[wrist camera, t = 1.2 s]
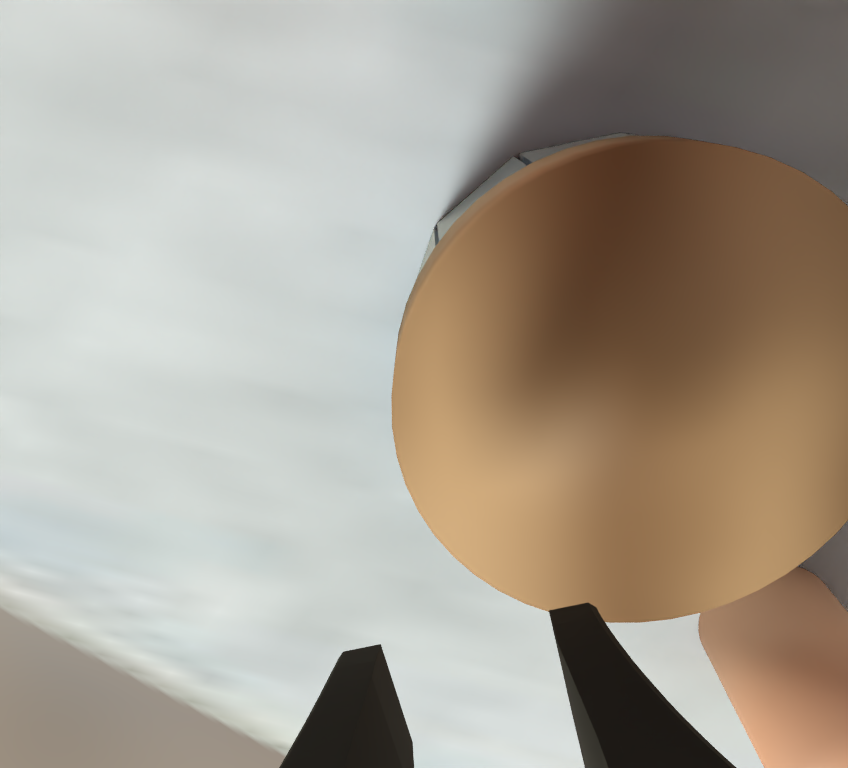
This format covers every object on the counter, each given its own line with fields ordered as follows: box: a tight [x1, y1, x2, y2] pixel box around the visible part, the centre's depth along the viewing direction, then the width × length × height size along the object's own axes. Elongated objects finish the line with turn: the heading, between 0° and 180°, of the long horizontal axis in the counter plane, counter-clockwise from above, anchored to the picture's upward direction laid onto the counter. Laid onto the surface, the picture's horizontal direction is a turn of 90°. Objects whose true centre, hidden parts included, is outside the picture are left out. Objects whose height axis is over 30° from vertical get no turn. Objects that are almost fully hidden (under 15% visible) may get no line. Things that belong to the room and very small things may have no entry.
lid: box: [392, 136, 848, 622], centre depth 16 cm, size 10×10×2 cm
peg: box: [699, 566, 848, 768], centre depth 20 cm, size 4×4×6 cm
